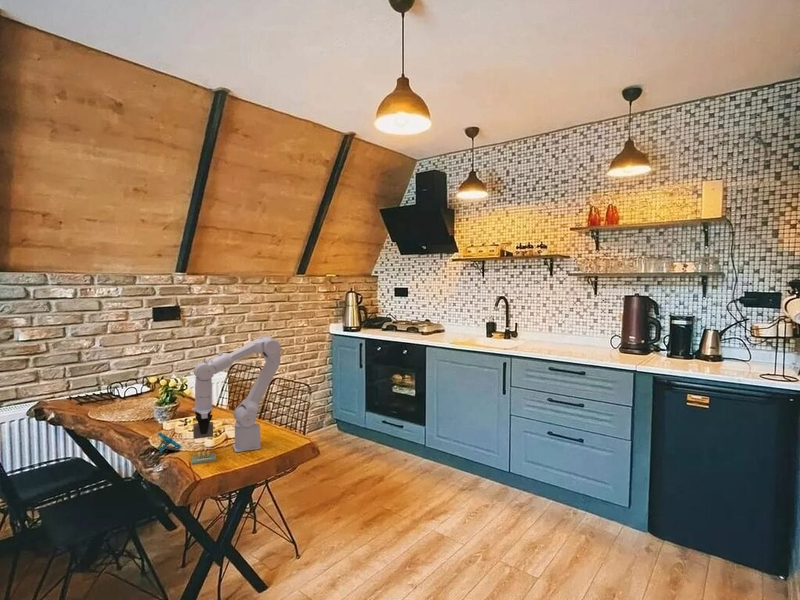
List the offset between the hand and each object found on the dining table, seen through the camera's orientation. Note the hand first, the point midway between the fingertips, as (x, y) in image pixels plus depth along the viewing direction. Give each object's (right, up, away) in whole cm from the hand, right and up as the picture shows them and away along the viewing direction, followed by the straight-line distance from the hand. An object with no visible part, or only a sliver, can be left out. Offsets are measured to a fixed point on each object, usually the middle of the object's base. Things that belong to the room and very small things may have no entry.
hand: (203, 431), depth 170 cm
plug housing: (0, -2, 0) cm, 2 cm away
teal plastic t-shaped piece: (-15, -9, +5) cm, 18 cm away
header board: (+1, -9, -3) cm, 10 cm away
